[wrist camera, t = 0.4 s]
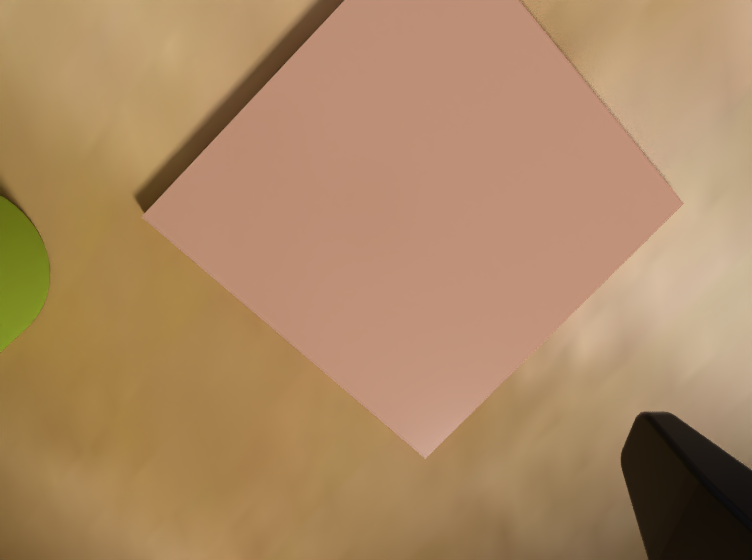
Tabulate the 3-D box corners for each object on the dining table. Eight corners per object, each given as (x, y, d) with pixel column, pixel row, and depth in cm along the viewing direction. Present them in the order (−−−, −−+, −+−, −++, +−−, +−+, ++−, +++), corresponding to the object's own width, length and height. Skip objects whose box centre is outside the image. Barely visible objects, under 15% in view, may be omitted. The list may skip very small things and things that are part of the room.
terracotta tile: (421, 451, 26) (425, 458, 26) (144, 214, 22) (141, 216, 22) (674, 201, 25) (683, 203, 25) (433, -95, 21) (438, -100, 21)
